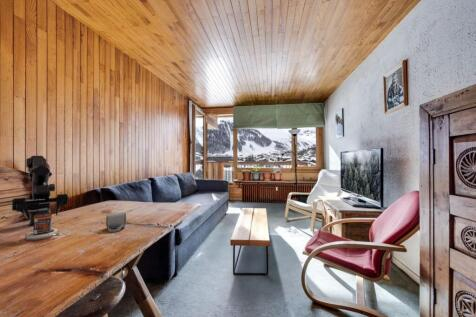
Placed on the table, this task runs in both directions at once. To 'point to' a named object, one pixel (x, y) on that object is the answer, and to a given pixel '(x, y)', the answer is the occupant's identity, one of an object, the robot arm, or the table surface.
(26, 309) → the table surface
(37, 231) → the supplement bottle
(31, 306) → the table surface
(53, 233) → the ring seat
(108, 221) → the ceramic mug
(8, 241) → the table surface
